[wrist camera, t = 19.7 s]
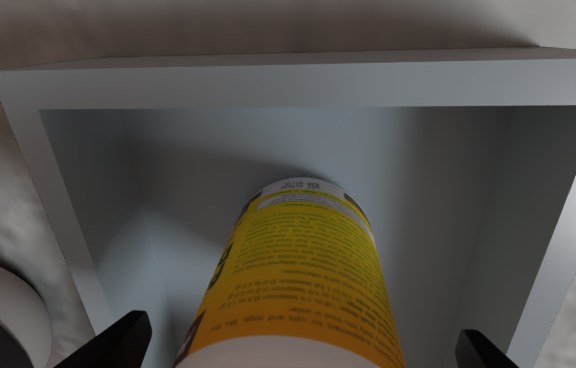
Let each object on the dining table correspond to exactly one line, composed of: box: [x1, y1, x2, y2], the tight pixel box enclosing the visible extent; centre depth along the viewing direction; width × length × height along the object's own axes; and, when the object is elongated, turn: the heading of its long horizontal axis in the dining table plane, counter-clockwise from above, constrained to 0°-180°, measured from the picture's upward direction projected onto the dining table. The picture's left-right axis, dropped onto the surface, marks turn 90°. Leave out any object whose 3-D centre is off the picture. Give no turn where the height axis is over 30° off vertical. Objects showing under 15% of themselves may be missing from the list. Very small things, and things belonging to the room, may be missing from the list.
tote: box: [0, 47, 576, 368], centre depth 15 cm, size 24×16×4 cm, turn 2°
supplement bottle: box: [172, 177, 406, 368], centre depth 9 cm, size 6×6×10 cm
